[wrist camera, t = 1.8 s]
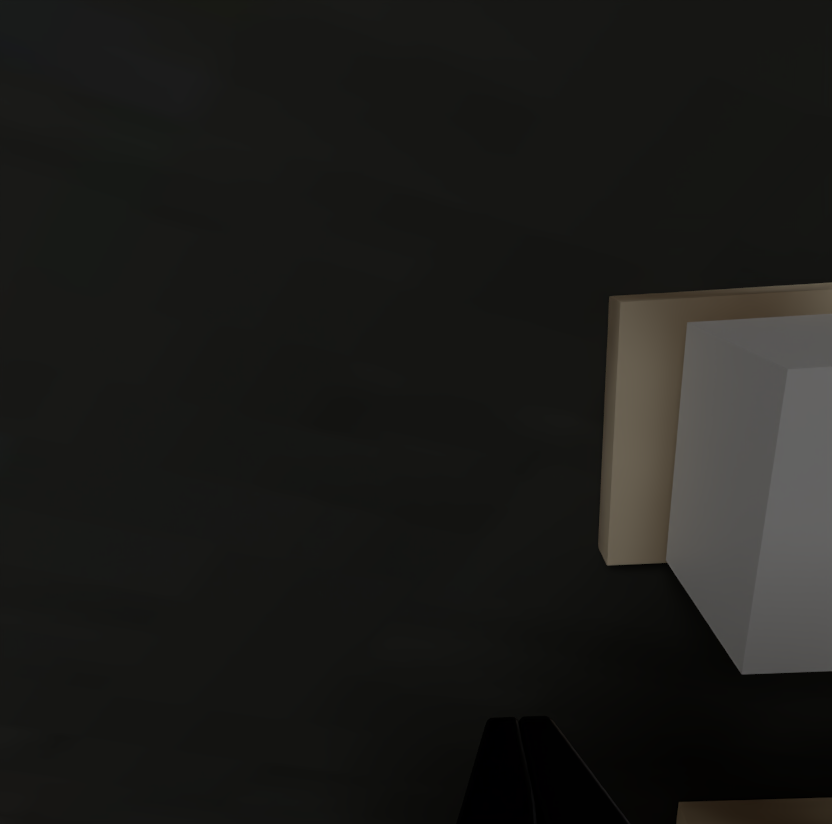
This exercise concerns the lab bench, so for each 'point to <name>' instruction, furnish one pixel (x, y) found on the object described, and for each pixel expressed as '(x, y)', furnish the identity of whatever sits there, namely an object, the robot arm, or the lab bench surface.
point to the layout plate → (662, 402)
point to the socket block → (757, 811)
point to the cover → (757, 488)
